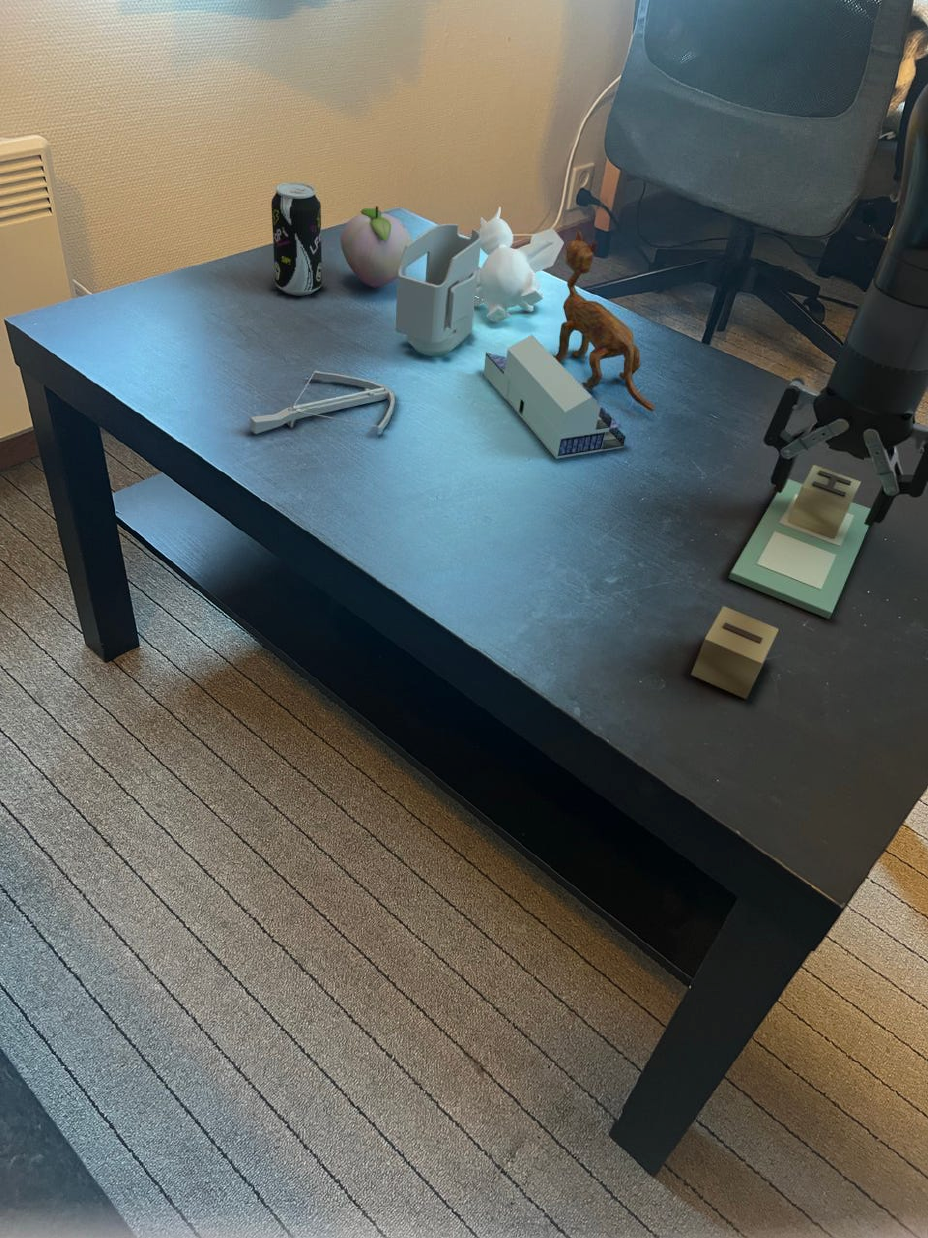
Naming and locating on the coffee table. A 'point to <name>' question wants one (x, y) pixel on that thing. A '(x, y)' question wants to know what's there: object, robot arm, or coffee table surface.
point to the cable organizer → (438, 290)
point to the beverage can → (297, 238)
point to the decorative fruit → (374, 246)
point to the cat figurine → (596, 326)
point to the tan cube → (734, 652)
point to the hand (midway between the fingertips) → (824, 504)
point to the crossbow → (328, 403)
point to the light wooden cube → (823, 501)
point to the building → (552, 401)
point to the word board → (800, 556)
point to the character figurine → (512, 268)
